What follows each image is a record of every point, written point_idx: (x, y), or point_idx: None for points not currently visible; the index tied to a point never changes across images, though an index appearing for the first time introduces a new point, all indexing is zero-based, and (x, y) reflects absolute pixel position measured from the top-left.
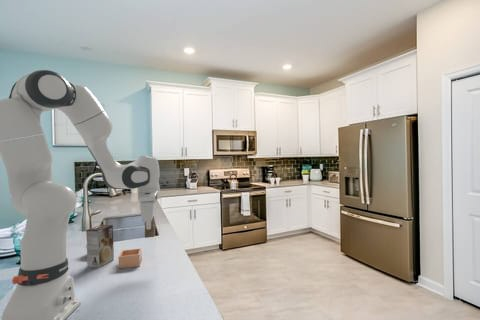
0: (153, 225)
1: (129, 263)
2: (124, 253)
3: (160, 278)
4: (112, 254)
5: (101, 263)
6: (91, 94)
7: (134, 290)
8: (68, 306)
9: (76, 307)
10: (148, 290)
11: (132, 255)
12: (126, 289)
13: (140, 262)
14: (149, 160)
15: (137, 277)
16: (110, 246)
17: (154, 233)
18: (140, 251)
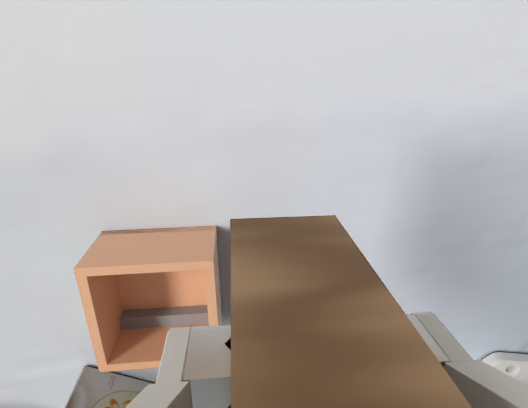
0: (398, 309)
1: (218, 284)
2: (111, 344)
3: (423, 95)
4: (84, 394)
5: None
6: None
7: (489, 204)
8: (524, 376)
9: (517, 354)
10: (522, 144)
11: (215, 297)
12: (462, 237)
13: (169, 230)
14: None
15: (360, 213)
16: None
17: (233, 225)
18: (143, 263)
